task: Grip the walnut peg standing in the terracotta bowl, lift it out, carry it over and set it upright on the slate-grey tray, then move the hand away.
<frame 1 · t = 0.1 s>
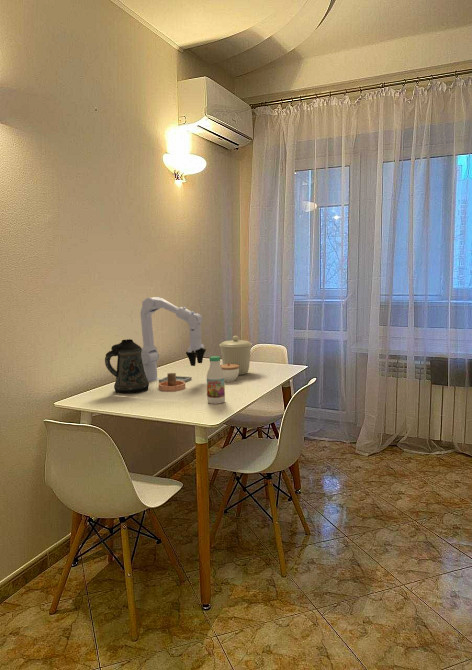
hand: (196, 364, 261), 10 cm above the table, tool pointing down, fingers open, 7 cm apart
milk bottle: (216, 402, 225), on the table
terracotta bowl: (172, 389, 252), on the table
slate tray: (175, 382, 267), on the table
lidded jar: (229, 380, 269), on the table
walnut peg: (172, 387, 252), point 1 cm above the table, touching terracotta bowl
beer stein: (129, 392, 248), on the table
canister: (236, 374, 285), on the table
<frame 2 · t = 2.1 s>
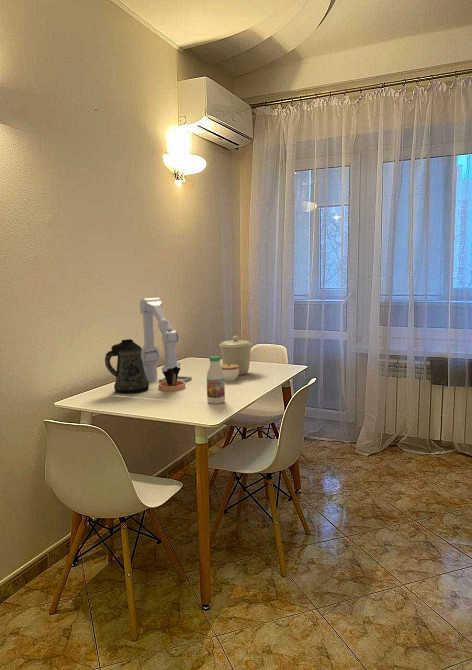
hand: (171, 383, 252), 3 cm above the table, tool pointing down, fingers closed on walnut peg, 4 cm apart
walnut peg: (172, 387, 252), point 1 cm above the table, touching gripper, terracotta bowl
everything else where it was.
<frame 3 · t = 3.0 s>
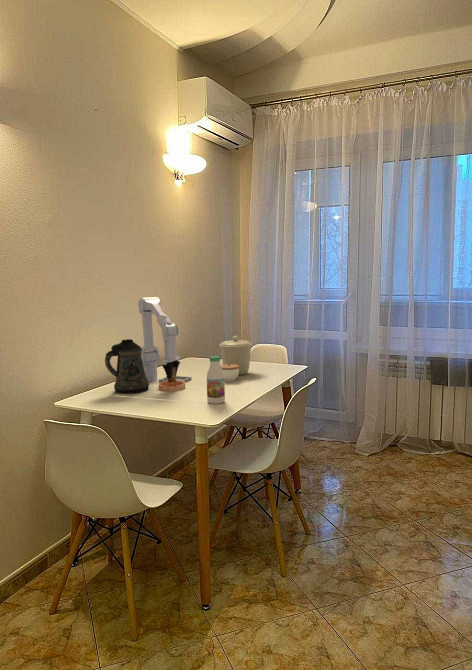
hand: (171, 377, 251), 6 cm above the table, tool pointing down, fingers closed on walnut peg, 4 cm apart
walnut peg: (171, 381, 252), point 4 cm above the table, touching gripper
everything else where it was.
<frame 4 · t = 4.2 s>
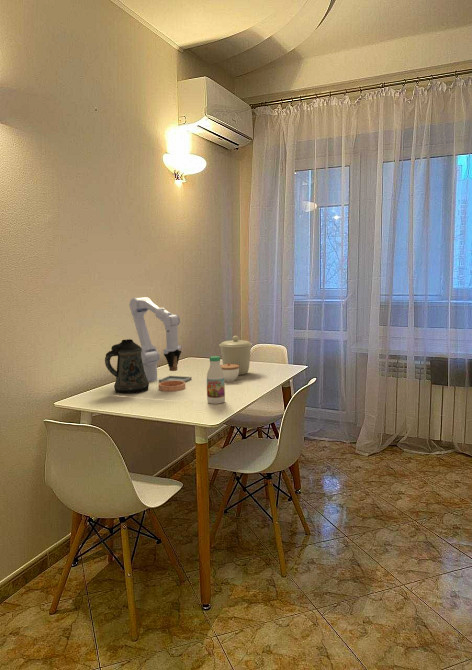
hand: (173, 365, 260), 10 cm above the table, tool pointing down, fingers closed on walnut peg, 4 cm apart
walnut peg: (173, 370, 260), point 8 cm above the table, touching gripper
everything else where it was.
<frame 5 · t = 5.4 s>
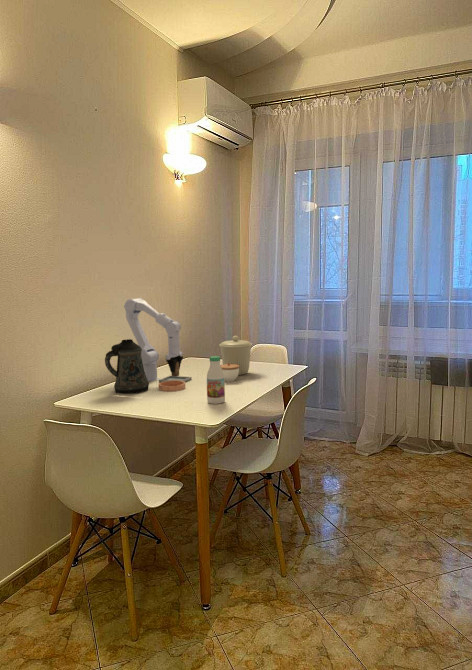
hand: (175, 371, 266), 6 cm above the table, tool pointing down, fingers closed on walnut peg, 4 cm apart
walnut peg: (175, 375, 267), point 4 cm above the table, touching gripper
everything else where it was.
when the fingers open (4 cm above the table, at t = 6.5 s): walnut peg drops 1 cm, resting on slate tray.
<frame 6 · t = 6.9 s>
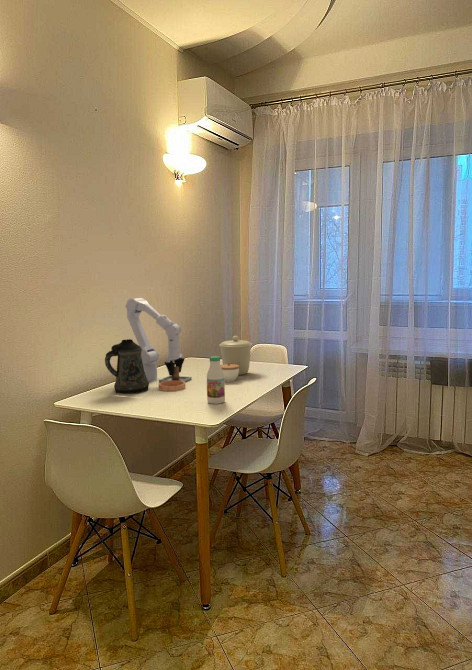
hand: (175, 373, 267), 4 cm above the table, tool pointing down, fingers open, 7 cm apart
walnut peg: (175, 380, 267), point 1 cm above the table, touching slate tray
everything else where it was.
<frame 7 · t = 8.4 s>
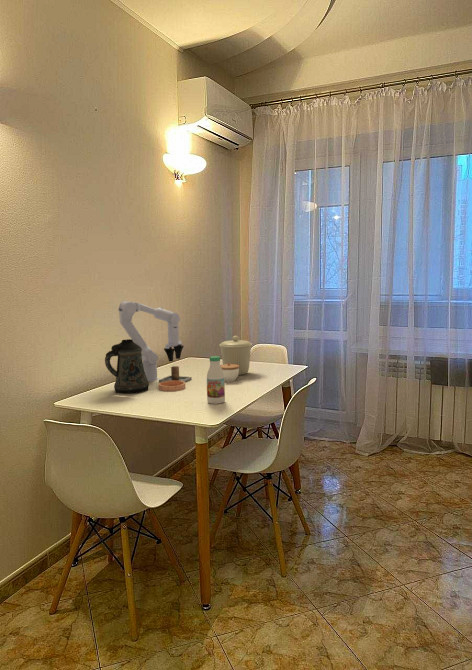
hand: (174, 359, 278), 9 cm above the table, tool pointing down, fingers open, 7 cm apart
nothing on the table moved.
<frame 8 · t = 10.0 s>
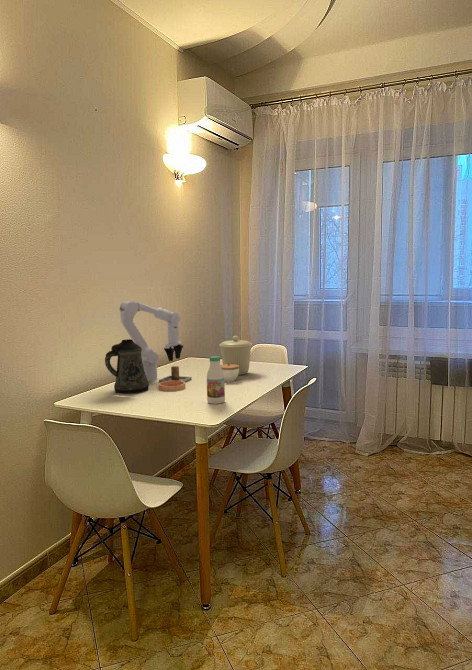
hand: (174, 359, 280), 9 cm above the table, tool pointing down, fingers open, 7 cm apart
nothing on the table moved.
at the end: walnut peg inside the target area on the slate tray (0.1 cm from its centre), point 1.0 cm above the slate tray's base; walnut peg tilted 0°; the gripper is holding nothing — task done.
